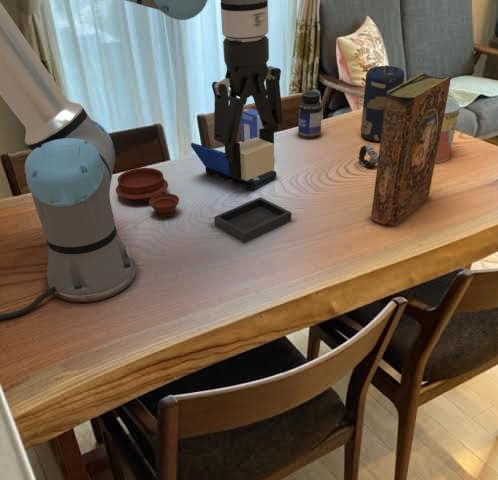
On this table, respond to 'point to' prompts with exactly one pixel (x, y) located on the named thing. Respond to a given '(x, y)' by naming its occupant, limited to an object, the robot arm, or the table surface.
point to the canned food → (447, 131)
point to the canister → (378, 98)
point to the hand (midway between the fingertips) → (251, 169)
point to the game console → (226, 167)
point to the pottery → (147, 189)
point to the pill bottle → (310, 115)
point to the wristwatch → (371, 153)
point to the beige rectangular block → (256, 158)
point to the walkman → (250, 124)
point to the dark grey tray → (252, 219)
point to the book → (408, 147)
